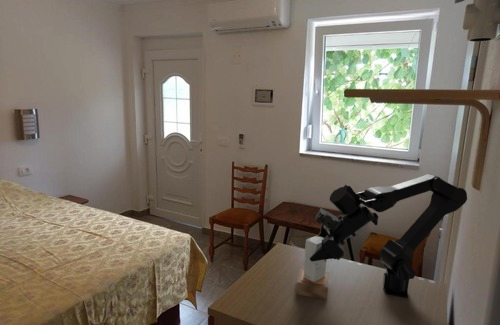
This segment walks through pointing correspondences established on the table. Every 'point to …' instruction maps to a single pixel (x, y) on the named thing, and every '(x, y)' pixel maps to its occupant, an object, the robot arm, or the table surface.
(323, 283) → the walnut stand
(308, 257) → the skincare box
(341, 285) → the table surface
